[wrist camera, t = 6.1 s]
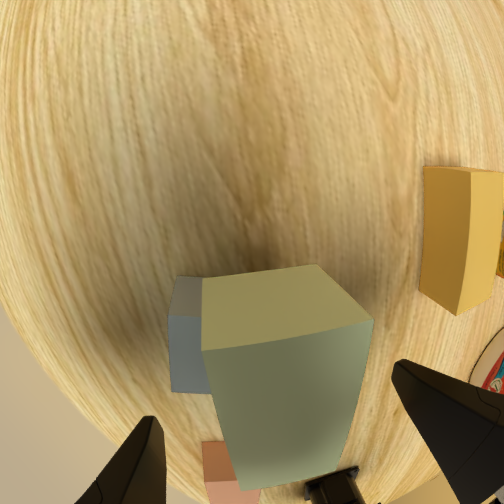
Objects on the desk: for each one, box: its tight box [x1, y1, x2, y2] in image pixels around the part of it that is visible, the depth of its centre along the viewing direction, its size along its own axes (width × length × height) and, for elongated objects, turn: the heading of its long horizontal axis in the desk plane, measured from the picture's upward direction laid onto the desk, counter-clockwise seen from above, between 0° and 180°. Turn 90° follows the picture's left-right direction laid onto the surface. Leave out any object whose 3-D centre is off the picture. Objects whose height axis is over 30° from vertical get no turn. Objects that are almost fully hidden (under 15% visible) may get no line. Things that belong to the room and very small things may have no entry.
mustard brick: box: [419, 166, 504, 316], centre depth 13 cm, size 8×4×4 cm, turn 7°
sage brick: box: [201, 264, 374, 491], centre depth 9 cm, size 8×4×4 cm, turn 4°
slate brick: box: [168, 276, 212, 394], centre depth 13 cm, size 8×4×4 cm, turn 83°
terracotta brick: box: [202, 441, 261, 504], centre depth 17 cm, size 8×4×4 cm, turn 178°
